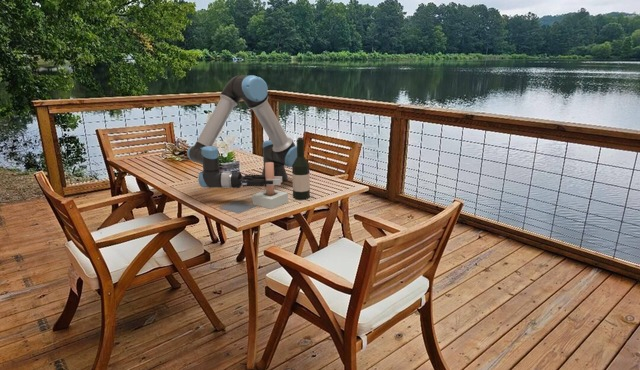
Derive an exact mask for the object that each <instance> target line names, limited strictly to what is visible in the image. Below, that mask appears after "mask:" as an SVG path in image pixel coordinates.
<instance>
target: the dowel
mask: <svg viewBox="0 0 640 370" xmlns="http://www.w3.org/2000/svg"><path fill="white" fill-rule="evenodd" d="M265 177H266V179H274V163H273V162H266V163H265ZM265 190H266V195H267V196H273V195H275V190H276V189H275V185H266V187H265Z"/></svg>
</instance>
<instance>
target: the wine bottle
mask: <svg viewBox="0 0 640 370" xmlns="http://www.w3.org/2000/svg"><path fill="white" fill-rule="evenodd" d="M296 146H297V158H296V160H295V161H294V163H293V165H292V167H291V169H292V171H291V172H292V198H293V199H294V200H295V201H296V200H297V201H304V200H308V199H309V198H311V194H310V193H311V192H310V191H311V190H310V189H311V187H310V184H311V183H310V180H311V178H310V177H311V176H310V164H309V161H308V160H307V159H306V157H305V140H304V137H302V136H301V137H297V139H296Z"/></svg>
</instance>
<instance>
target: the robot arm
mask: <svg viewBox="0 0 640 370" xmlns="http://www.w3.org/2000/svg"><path fill="white" fill-rule="evenodd" d="M268 90H269V88H268V84H267V82H266V81H265V80H264V79H263V78H262V77H260V76H256V75H254V74H253V75H242V74H240V75H239V74H238V75H236V76H234V77H232V78H231V79H230V80H228V82H227V83H226V84H225V86H224V88H223V89H222V91H221V93H220V95H219V97H220V99H219V101H217V104H216V106H215V107H214V110H213V111H212V113H211V116H210V117H209V118H208V121H207V122H206V123H205V126H204V127H203V129H202V131H201V133H200V135H199V137H198V138H197V139H196V142H195V143H194V145H191V146H190V147H188V148H187V151H186V156H187V158H188V159H189V160H190V161H191V162H193V163H196V164H200V165H202V170H203V171H200V172H199V175H198V179H197V180H198V184H199V186H200V187H201V188H209V189H211V188H212V189H213V188H214V189H215V188H219V189H220V188H222V189H224V188H225V189H232V188H233V189H239V188H242V187H264V188H266V185H274V186H281V185H282V184H281V183H284V182H286V181H288V174H287V170H286V167H287V168H292V165H293V163H294V161H295V160H296V158H297V145H296V144H295V142H294V140H293V138H291V137H288V136H287V133H286V132H285V130H284V128H283V127H282V124H281V123H280V121H279V118H277V116H276V114H275V112H274V111H273V108H272V106H271V105H270V103H269V101H268V100H269V95H268ZM242 100H243V102H244V103H245V105H246V107H247V108H248V109H250V110H252V111H253V112H254V115H255V116H256V118H257V120H258V121H259V123H260V125H261V127H262V128H263V130H264V132H265V134H266V135H267V136H268V140H265V141H263V142H262V160H263V168H262V172H261V174H251V173H250V174H245V175H244V176H243V175H242V172H239V171H233V172H232V171H220V158H219V157H220V154H219V148H218V147H217V146H214V143H215V142H216V140H217V138H218V136H219V134H220V132H221V131H222V129H223V127H224V126H225V123H226V122H227V119H229V116H230V114H231V113H232V111H233V109H234V108H235V107H237V106H238V104H240V103H239V102H240V101H242ZM266 162H273V163H274V179H266V177H265V163H266Z"/></svg>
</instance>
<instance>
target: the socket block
mask: <svg viewBox="0 0 640 370" xmlns="http://www.w3.org/2000/svg"><path fill="white" fill-rule="evenodd" d="M274 190H275V195H273V196H267V195H266V189H265V190H261V191H260V192H256V193H254V194H252V198H251V200H252V205H254V206H257V207H258V206H259V207H263V208H266V209H270V210H273V209H275V208H278V207H281V206H283V205H285V204H287V203H289V192H286V191H281V190H276V189H274Z"/></svg>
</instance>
